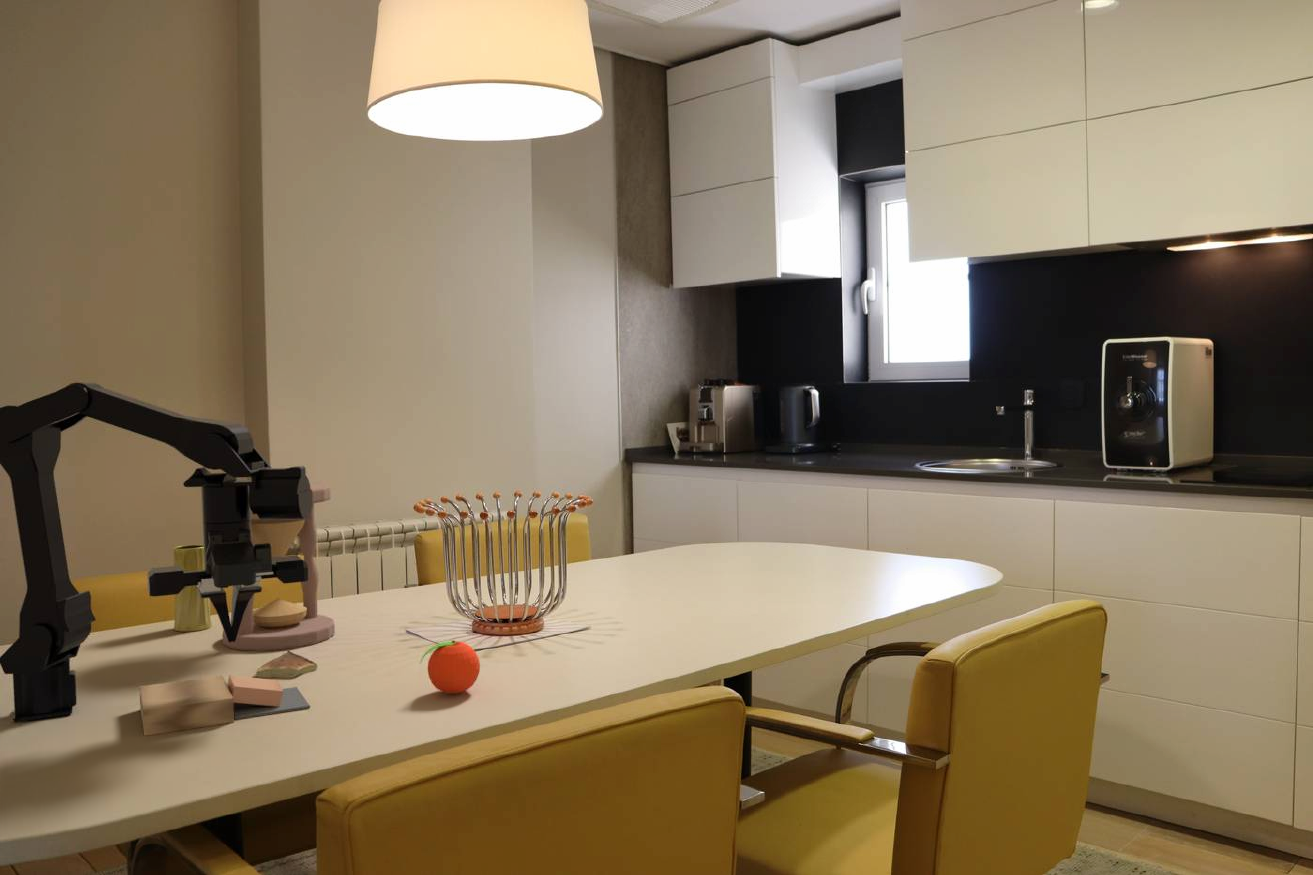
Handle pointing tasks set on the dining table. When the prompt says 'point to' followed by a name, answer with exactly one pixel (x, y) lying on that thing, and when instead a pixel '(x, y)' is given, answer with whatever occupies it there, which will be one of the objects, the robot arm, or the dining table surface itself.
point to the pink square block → (255, 691)
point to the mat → (288, 703)
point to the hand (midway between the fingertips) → (231, 641)
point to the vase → (190, 592)
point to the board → (185, 705)
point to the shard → (286, 666)
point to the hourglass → (281, 618)
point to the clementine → (453, 667)
